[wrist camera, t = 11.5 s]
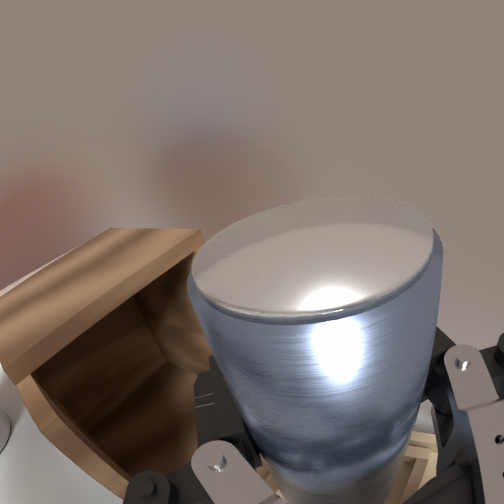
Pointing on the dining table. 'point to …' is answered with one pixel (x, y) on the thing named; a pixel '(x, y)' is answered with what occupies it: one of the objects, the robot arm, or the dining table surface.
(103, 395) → the walnut box
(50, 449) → the dining table surface
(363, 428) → the can
